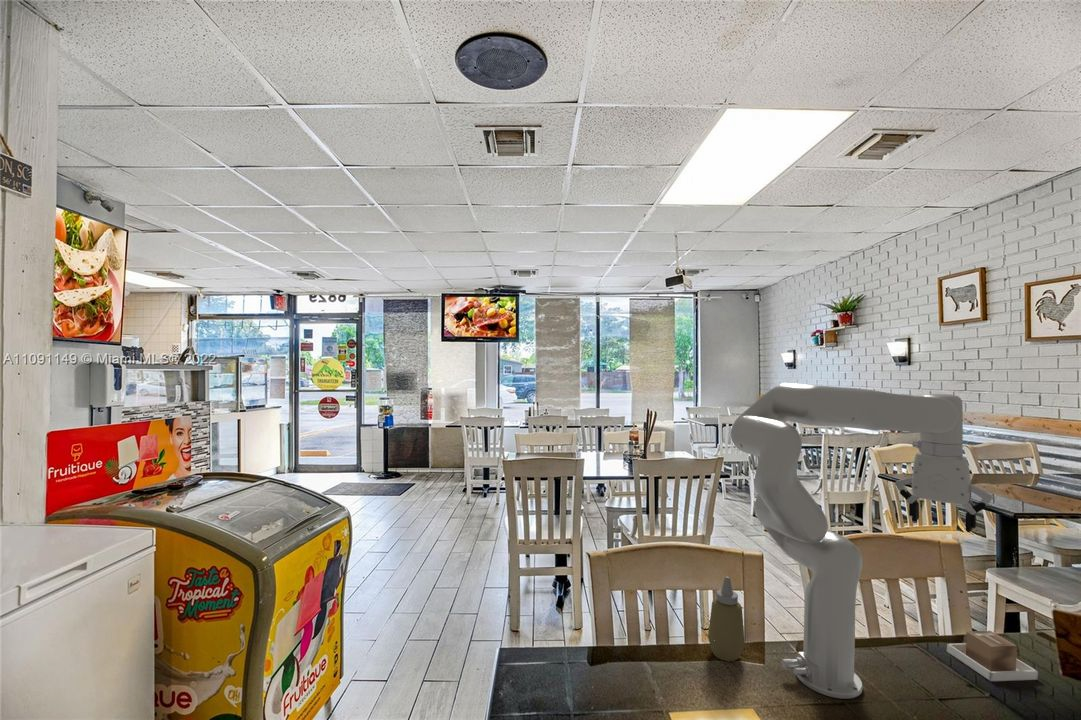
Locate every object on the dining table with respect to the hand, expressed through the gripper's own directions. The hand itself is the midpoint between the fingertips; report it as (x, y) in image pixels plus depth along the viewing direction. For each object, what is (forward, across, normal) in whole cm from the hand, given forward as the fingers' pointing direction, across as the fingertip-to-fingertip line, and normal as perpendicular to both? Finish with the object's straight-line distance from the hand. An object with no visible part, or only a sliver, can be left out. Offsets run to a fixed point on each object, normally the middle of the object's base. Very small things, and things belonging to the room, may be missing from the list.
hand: (941, 525), depth 114 cm
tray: (+32, +7, +7) cm, 34 cm away
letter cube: (+32, +7, +7) cm, 33 cm away
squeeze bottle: (+30, -34, -34) cm, 57 cm away
